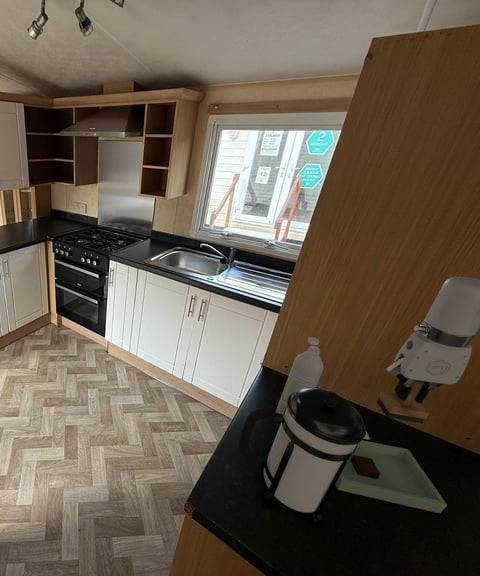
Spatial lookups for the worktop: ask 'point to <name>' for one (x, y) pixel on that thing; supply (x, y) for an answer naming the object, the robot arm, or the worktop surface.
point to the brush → (404, 405)
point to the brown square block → (365, 466)
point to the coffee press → (307, 448)
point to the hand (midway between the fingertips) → (407, 397)
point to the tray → (392, 478)
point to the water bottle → (302, 373)
